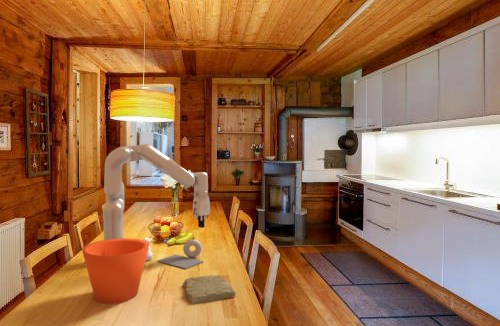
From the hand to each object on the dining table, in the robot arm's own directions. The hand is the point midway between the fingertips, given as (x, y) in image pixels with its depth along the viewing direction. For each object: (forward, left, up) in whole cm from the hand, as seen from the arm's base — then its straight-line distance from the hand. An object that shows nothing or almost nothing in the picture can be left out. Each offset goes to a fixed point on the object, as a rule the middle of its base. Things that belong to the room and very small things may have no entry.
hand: (201, 227), depth 196 cm
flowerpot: (-60, -8, -16) cm, 63 cm away
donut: (-7, 0, -16) cm, 17 cm away
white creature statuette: (-23, +18, -16) cm, 34 cm away
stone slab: (-36, -35, -16) cm, 53 cm away
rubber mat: (-16, 0, -16) cm, 22 cm away
